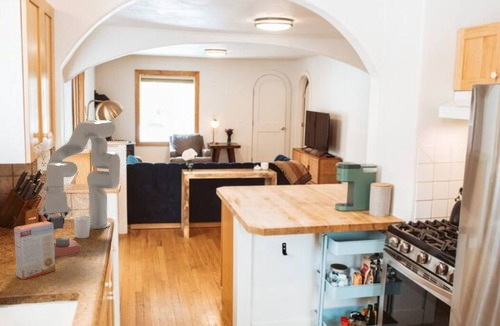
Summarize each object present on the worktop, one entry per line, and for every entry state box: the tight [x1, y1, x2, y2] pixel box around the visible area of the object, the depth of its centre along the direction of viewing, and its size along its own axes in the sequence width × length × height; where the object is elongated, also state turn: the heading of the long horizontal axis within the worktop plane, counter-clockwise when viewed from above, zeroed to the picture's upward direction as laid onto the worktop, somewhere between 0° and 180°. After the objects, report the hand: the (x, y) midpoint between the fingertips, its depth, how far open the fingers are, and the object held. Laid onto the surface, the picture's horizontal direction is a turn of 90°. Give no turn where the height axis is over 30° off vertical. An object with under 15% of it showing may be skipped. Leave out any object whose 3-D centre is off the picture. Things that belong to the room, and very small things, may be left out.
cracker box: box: [13, 220, 56, 280], centre depth 196 cm, size 14×6×21 cm, turn 141°
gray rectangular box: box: [50, 214, 64, 230], centre depth 230 cm, size 7×5×5 cm
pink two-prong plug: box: [54, 236, 82, 258], centre depth 227 cm, size 17×14×6 cm
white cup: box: [73, 215, 91, 239], centre depth 250 cm, size 8×8×10 cm
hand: (55, 226), depth 230 cm, fingers closed on gray rectangular box, 5 cm apart
